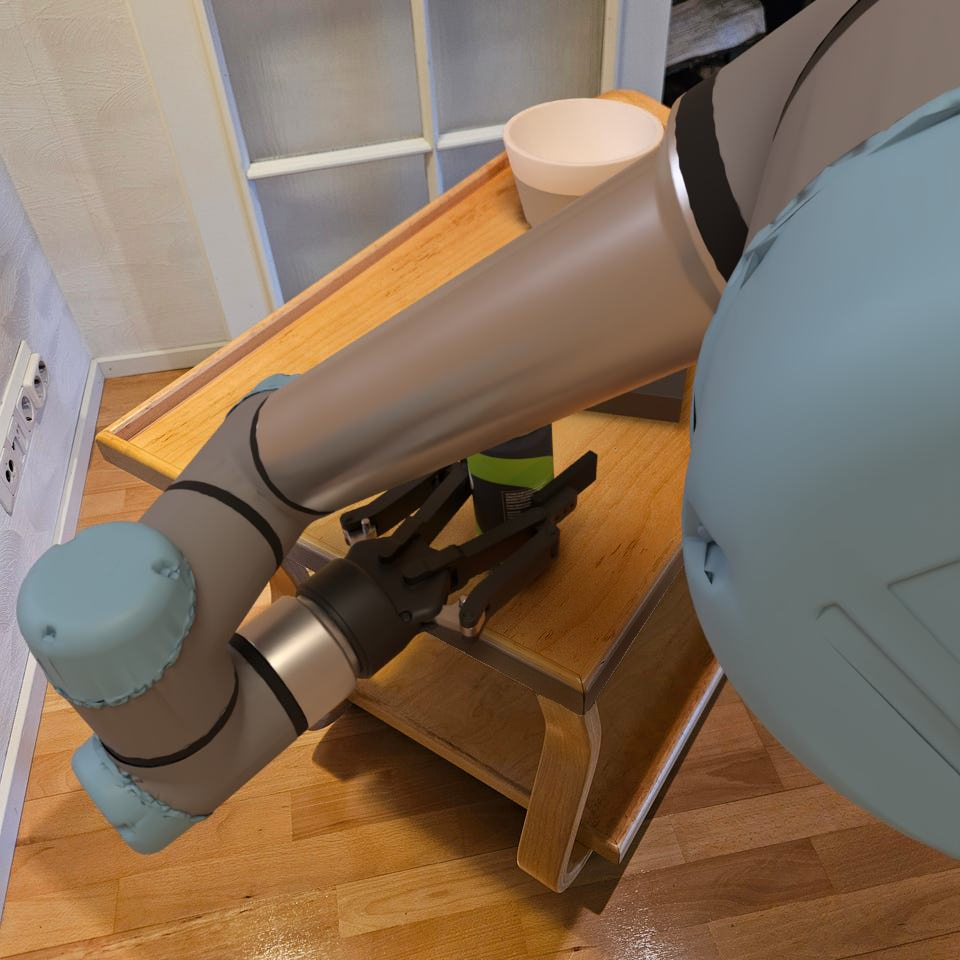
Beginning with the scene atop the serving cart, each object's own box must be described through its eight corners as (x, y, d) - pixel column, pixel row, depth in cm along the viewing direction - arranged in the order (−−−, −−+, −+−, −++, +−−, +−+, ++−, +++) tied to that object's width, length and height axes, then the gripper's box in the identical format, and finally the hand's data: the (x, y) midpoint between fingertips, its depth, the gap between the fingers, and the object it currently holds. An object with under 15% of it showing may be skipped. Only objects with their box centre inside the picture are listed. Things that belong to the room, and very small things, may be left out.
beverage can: (570, 542, 68) (566, 395, 58) (536, 596, 64) (525, 448, 54) (503, 520, 70) (488, 375, 60) (466, 570, 66) (444, 424, 56)
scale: (694, 314, 90) (698, 283, 87) (678, 423, 78) (683, 391, 75) (548, 299, 93) (549, 269, 90) (512, 401, 81) (511, 370, 78)
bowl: (598, 269, 97) (603, 181, 89) (474, 221, 106) (469, 138, 98) (684, 203, 107) (695, 119, 99) (563, 165, 116) (565, 86, 108)
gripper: (261, 596, 60) (486, 433, 71) (425, 755, 51) (655, 539, 62) (233, 528, 55) (482, 363, 65) (411, 692, 45) (666, 468, 56)
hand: (565, 449), depth 64 cm, fingers closed on beverage can, 5 cm apart
